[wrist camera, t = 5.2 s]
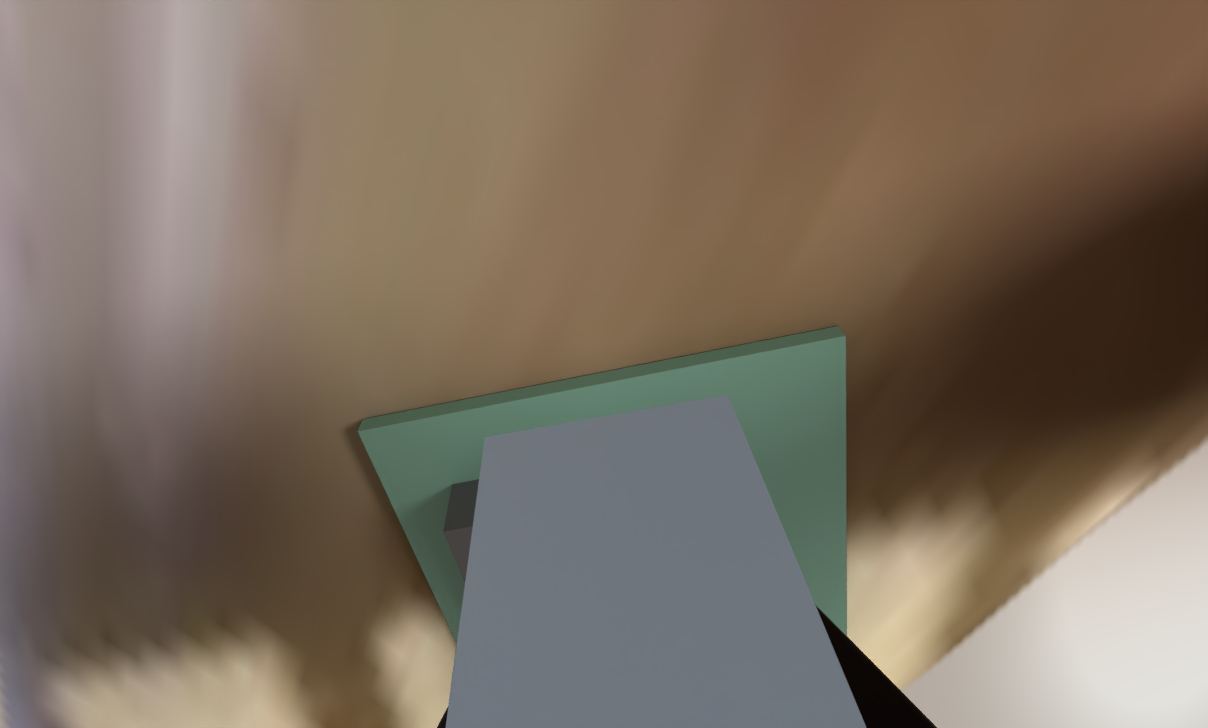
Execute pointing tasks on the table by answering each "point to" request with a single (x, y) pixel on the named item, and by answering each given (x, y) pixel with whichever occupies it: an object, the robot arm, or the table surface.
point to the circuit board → (745, 373)
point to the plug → (638, 584)
